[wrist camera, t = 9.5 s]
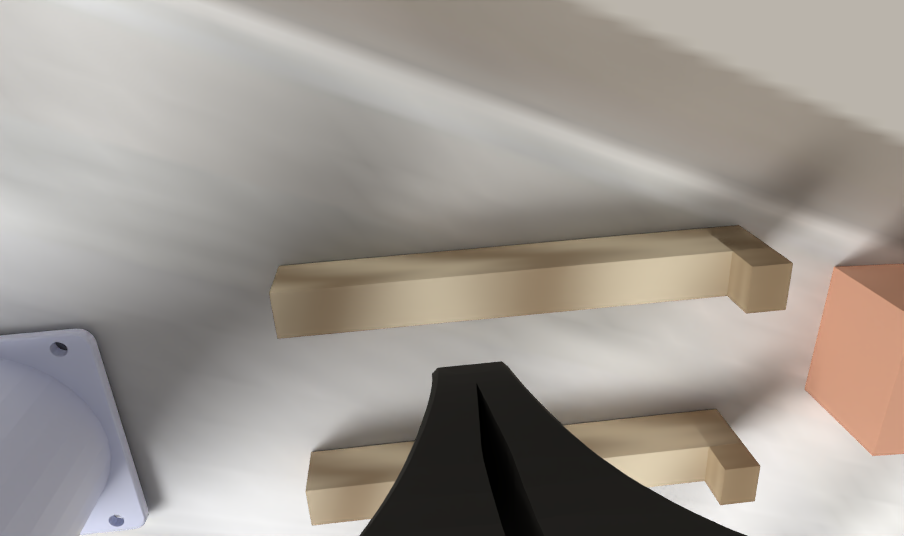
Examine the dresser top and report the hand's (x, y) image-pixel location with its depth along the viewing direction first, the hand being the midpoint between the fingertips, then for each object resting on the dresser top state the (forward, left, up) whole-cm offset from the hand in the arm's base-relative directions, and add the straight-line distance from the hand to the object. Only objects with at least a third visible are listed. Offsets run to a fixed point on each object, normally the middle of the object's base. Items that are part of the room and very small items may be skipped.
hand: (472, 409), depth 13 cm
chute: (+2, -5, -9) cm, 11 cm away
